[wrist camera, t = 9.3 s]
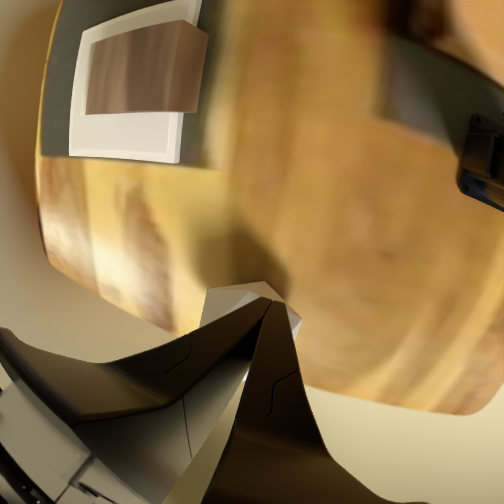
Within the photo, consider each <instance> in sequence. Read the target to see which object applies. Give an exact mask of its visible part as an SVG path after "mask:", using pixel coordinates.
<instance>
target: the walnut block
mask: <svg viewBox="0 0 504 504" xmlns="http://www.w3.org/2000/svg"><path fill="white" fill-rule="evenodd" d="M208 39H209V34H207V33H205V32H204V31H202V30H200V29H199V28H197V27H195V26H194V25H192V24H190V23H188V22H187V21H185V20H183V19H182V20H176V21H170V22H165V23H160V24H156V25H151V26H147V27H143V28H139V29H135V30H131V31H128V32H124V33H121V34H118V35H115V36H111V37H108V38H105V39H103V40H100V41H97V42H94V43H92V44H91V45H90V50H89V55H88V60H87V65H86V71H85V78H84V85H83V93H82V102H81V112H80V116H82V115H100V114H121V113H146V112H176V113H197V107H198V100H199V93H200V86H201V79H202V73H203V67H204V61H205V55H206V49H207V44H208Z"/></svg>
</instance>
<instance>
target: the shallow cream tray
mask: <svg viewBox="0 0 504 504" xmlns="http://www.w3.org/2000/svg"><path fill="white" fill-rule="evenodd" d="M201 4H202V0H174V1H170V2H166V3H162V4H158V5H154V6H151V7H147V8H144V9H140V10H137V11H134V12H131V13H128V14H125V15H122V16H120V17H117V18H114V19H112V20H109V21H107V22H104V23H102V24H99V25H97V26H95V27H92V28H90V29H88V30H86V31H84V32H83V35H82V39H81V44H80V48H79V53H78V59H77V64H76V70H75V77H74V84H73V92H72V102H71V114H70V133H69V156H90V157H109V158H124V159H136V160H147V161H157V162H166V163H178V162H179V157H180V145H181V133H182V123H183V113H176V112H146V113H121V114H100V115H82V116H80V112H81V102H82V93H83V85H84V78H85V71H86V65H87V60H88V55H89V50H90V45H91V44H92V43H94V42H97V41H100V40H103V39H105V38H108V37H111V36H115V35H118V34H121V33H124V32H128V31H131V30H135V29H139V28H143V27H147V26H151V25H156V24H160V23H165V22H170V21H176V20H182V19H183V20H185V21H187V22H188V23H190V24H192V25H194V26H195V27H197V22H198V17H199V13H200V8H201Z"/></svg>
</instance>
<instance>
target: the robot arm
mask: <svg viewBox="0 0 504 504" xmlns="http://www.w3.org/2000/svg"><path fill="white" fill-rule="evenodd" d="M503 116H504V113H503ZM476 117H477V118H478V120H479V122H478V123H477V122H476ZM462 166H463V171H462V176H461V180H460V184H459V189H460V191H461V192H462V193H463V194H465V195H467V196H470V197H472V198H474V199H477V200H479V201H481V202H483V203H485V204H488V205H490V206H492V207H494V208H496V209H498V210H500V211H502V212H504V128H503V127H501V126H499V125H497V124H496V123H494V122H492V121H490V120H489V119H487V118H485V117H483V116H481V115H479V114H473V115H472V117H471V123H470V131H469V134H467V138H466V145H465V151H464V156H463V162H462ZM465 185H466V186H467V189H466V190H465V191H464V186H465ZM0 363H1V365H2V366H3V368H4V369H5V371H6V372H7V374H8V375H9V377H10V378H11V380H12V382H11V383H10V384H9V385H8V386H7V387H6V388H5V389H4V390H3V391H2V389H1V388H0V504H134V503H135V502H136V500H137V499H138V498H139V499H141V500H143V501H144V502H146V503H148V504H161V503H162V502H163V501H164V499H165V498H166V497H167V495H168V494H169V492H170V491H171V490H172V488H173V487H174V485H175V484H176V483H177V481H178V480H179V478H180V477H181V476H182V474H183V473H184V471H185V470H186V468H187V466H188V465H189V464H190V462H191V460H192V459H193V458H194V456H195V455H196V453H197V452H198V450H199V449H200V447H201V446H202V444H203V443H204V441H205V440H206V438H207V437H208V435H209V434H210V432H211V430H212V429H213V427H214V426H215V424H216V423H217V421H218V419H219V417H220V416H221V415H222V413H223V411H224V410H225V408H226V406H227V405H228V403H229V401H230V400H231V398H232V397H233V395H234V393H235V392H236V390H237V388H238V386H239V385H240V383H241V381H242V380H243V378H244V376H245V375H246V373H247V371H248V369H249V371H248V374H247V378H246V381H245V385H244V388H243V392H242V395H241V399H240V402H239V406H238V409H237V413H236V416H235V420H234V423H233V426H232V429H231V432H230V435H229V438H228V441H227V443H226V445H225V448H224V450H223V453H222V455H221V458H220V460H219V462H218V465H217V467H216V469H215V472H214V474H213V477H212V479H211V481H210V484H209V486H208V488H207V490H206V492H205V495H204V497H203V500H202V502H201V504H430V503H428V502H406V503H400V502H393V501H388V500H386V499H384V498H381V497H379V496H378V495H376V494H375V493H373V492H372V491H371V490H370V489H368V488H367V487H366V486H364V485H363V484H362V483H361V482H360V481H358V480H357V479H356V478H355V477H353V476H352V475H351V474H350V473H349V472H347V471H346V470H345V469H344V468H343V467H342V466H340V465H339V464H338V463H337V462H336V461H335V460H334V459H333V458H332V456H331V455H330V453H329V452H328V450H327V448H326V446H325V444H324V441H323V439H322V436H321V433H320V431H319V428H318V426H317V423H316V420H315V418H314V415H313V413H312V410H311V407H310V405H309V401H308V399H307V396H306V392H305V388H304V384H303V380H302V375H301V372H300V367H299V362H298V357H297V353H296V348H295V343H294V339H293V334H292V330H291V325H290V321H289V316H288V312H287V307H286V304H285V303H284V302H280V301H277V300H274V301H273V300H272V299H270V298H266V297H263V296H261V297H259V298H257V299H255V300H253V301H251V302H249V303H247V304H245V305H244V306H242V307H240V308H238V309H236V310H234V311H232V312H230V313H228V314H226V315H224V316H222V317H220V318H218V319H216V320H214V321H212V322H210V323H208V324H206V325H204V326H202V327H200V328H198V329H196V330H194V331H192V332H190V333H189V334H186V335H184V336H181V337H179V338H177V339H175V340H173V341H170V342H169V343H166V344H164V345H161V346H158V347H155V348H153V349H150V350H147V351H144V352H141V353H138V354H135V355H131V356H128V357H125V358H122V359H119V360H115V361H112V362H107V363H91V362H86V361H82V360H77V359H73V358H69V357H65V356H62V355H58V354H54V353H51V352H47V351H44V350H41V349H37V348H34V347H32V346H30V345H28V344H25V343H24V342H22V341H20V340H19V339H18V338H17V337H16V336H15V335H14V334H13V333H12V332H11V331H10V330H9V329H7V328H3V327H0Z"/></svg>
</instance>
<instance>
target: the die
mask: <svg viewBox="0 0 504 504" xmlns="http://www.w3.org/2000/svg"><path fill="white" fill-rule="evenodd" d="M261 296H263V297H266V298H270V299H272V300H273V301H274V300H277V301H280V302H284V303H285V304H286V307H287V312H288V316H289V321H290V325H291V330H292V334H293V339H294V342H295V340H296V337H297V334H298V331H299V328H300V325H301V322H302V318H301V317H300V316H299V315H298V314H297V313H296V312H295V311H294V310H293V309H292V308H291V307H290V306H289V305H288V304H287V303H286V302H285V301H284V300H283V299H282V298H281V297H280V296H279V295H278V294H277V293H276V292H275V291H274V290H273V289H272V288H271V287H270V286H269V285H268V284H267V283H266V282H265V281H260V282H253V283H246V284H238V285H231V286H223V287H216V288H208V289H207V294H206V298H205V303H204V307H203V312H202V316H201V321H200V326H199V328H200V327H202V326H204V325H206V324H208V323H210V322H212V321H214V320H216V319H218V318H220V317H222V316H224V315H226V314H228V313H230V312H232V311H234V310H236V309H238V308H240V307H242V306H244V305H245V304H247V303H249V302H251V301H253V300H255V299H257V298H259V297H261ZM248 371H249V369H248ZM248 371H247V373H246V375H245V376H244V378H243V380H242V381H246V378H247V374H248ZM242 381H241V382H242Z"/></svg>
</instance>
